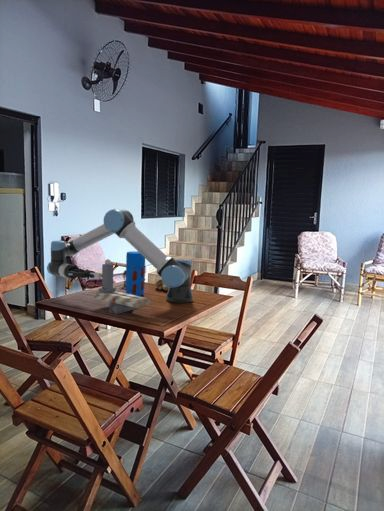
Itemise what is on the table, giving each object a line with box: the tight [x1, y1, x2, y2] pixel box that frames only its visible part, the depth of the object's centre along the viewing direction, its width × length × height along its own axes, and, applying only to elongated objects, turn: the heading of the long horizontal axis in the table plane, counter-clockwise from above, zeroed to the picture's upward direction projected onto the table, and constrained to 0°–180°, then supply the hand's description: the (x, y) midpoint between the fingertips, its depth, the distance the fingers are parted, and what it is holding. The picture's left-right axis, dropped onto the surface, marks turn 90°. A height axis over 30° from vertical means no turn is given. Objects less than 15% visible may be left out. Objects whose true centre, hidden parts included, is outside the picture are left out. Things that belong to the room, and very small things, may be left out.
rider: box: [98, 258, 117, 293], centre depth 185 cm, size 4×8×18 cm, turn 147°
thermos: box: [125, 250, 146, 297], centre depth 216 cm, size 11×11×25 cm
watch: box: [122, 269, 126, 287], centre depth 240 cm, size 6×8×11 cm
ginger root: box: [154, 278, 169, 291], centre depth 236 cm, size 16×16×8 cm
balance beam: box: [93, 290, 151, 315], centre depth 181 cm, size 28×12×8 cm, turn 57°
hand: (99, 276), depth 188 cm, fingers closed
